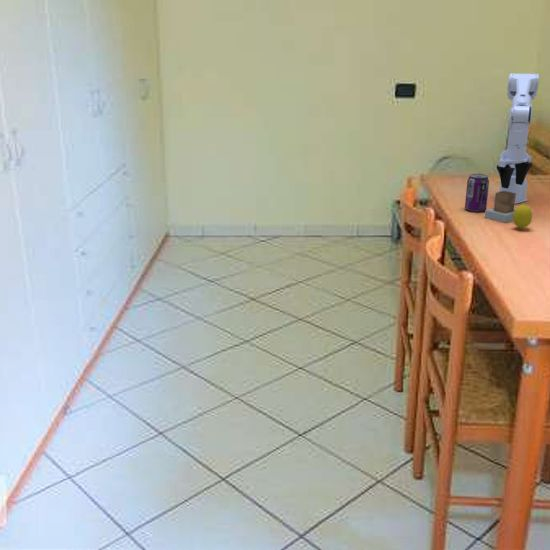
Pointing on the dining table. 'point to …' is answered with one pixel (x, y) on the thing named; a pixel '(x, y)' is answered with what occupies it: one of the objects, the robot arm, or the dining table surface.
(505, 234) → the dining table surface
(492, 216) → the grey base
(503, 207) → the walnut block
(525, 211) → the lemon
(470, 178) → the beverage can
